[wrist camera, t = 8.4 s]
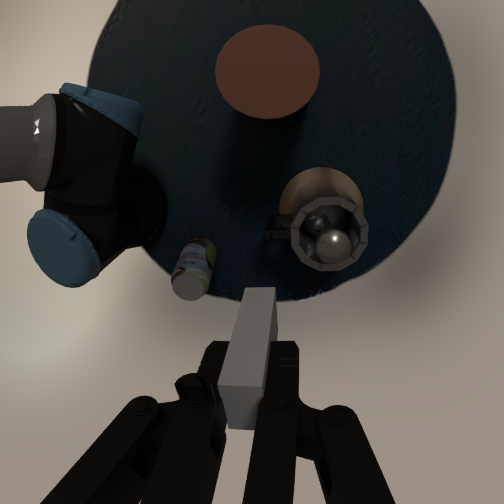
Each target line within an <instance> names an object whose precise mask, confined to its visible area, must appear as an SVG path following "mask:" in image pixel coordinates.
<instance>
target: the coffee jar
mask: <svg viewBox="0 0 504 504" xmlns="http://www.w3.org/2000/svg"><path fill="white" fill-rule="evenodd" d="M215 74H216V82H217V86H218V88H219V90H220V92H221V94H222V96H223V98H224V99H225V100H226V101H227V102H228V103H229V104H230V105H231V106H232V107H233V108H234V109H236V110H238V111H239V112H241V113H243V114H245V115H247V116H249V117H254V118H259V119H264V120H269V121H274V122H275V121H285V120H288V119H290V118H293V117H295V116H296V115H297V114H299V113H300V112H301V111H302V110H303V109H304V108H305V107H306V105H307V104H308V102H309V101H310V99H311V97H312V96H313V94H314V93H315V91H316V89H317V87H318V82H319V77H320V68H319V61H318V57H317V55H316V53H315V52H314V50H313V48H312V46H311V45H310V44H309V43H308V42H307V41H306V40H305V39H304V38H303V37H302V36H301V35H300V34H298V33H296V32H294V31H292V30H290V29H288V28H286V27H282V26H276V25H270V24H267V25H258V26H252V27H250V28H247V29H245V30H243V31H240V32H238V33H237V34H236V35H234V36H233V37H232V38H231V39H230V40H229V41H227V42H226V44H225V45H224V47H223V48H222V50H221V52H220V53H219V55H218V59H217V63H216V68H215Z"/></svg>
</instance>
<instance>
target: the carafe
mask: <svg viewBox="0 0 504 504" xmlns="http://www.w3.org/2000/svg"><path fill="white" fill-rule="evenodd" d="M321 205H340V206H341V207H343V208H344V210H345V213H346V220H345V224H344V226H343V228H342V229H341V230H342V231H343V232H345V233H346V235H347V236H348V239H349V241H350V244H351V251H350V254H349V256H348V257H347V258H346V259H345V260H344V261H343V262H341V263H338V264H328V263H325V262H324V261H322V260H321V259H320V257H319V256H318V253H317V248H316V241H317V238H318V237H316V236H314V235H312V234H311V233H310V232H309V231H308V230H307V229H306V227H305V225H304V223H303V220H304V218H305V216H306V214H308V213H310V212H311V211H313V210H314V209H316V208H318V207H319V206H321ZM283 223H291V227H289V228H275V226H276V224H283ZM265 239H266V240H268V239H291V245H292V248H293V250H294V251H295V253H296V254H297V255H298V257H299V258H300V260H301V261H302V263H304V264H306V265H308V266H310V267H312V268H314V269H316V270H318V271H340V270H341V269H343V268H345V267H347V266H349V265H350V264H352V263H354V262H356V261H357V260H358V258H359V257H360V255H361V254H362V252H363V250H364V249H365V247H366V246H367V244H368V223H367V221H366V219H365V218H364V216H363V214H362V212H361V210H360V209H359V207H358V206H357V204H356V203H355V202H354V200H353V199H352V198H351V196H350V195H349V194H348V192H347V191H346V190H345V188H344V187H342V186H340V185H338V184H336V183H335V182H333V181H331V180H312V181H311V182H309V183H307V184H306V185H304V186H303V187H301V188H299V189H298V191H297V193H296V195H295V197H294V199H293V201H292V203H291V214H271V215H269V217H268V221H267V225H266V228H265Z"/></svg>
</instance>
